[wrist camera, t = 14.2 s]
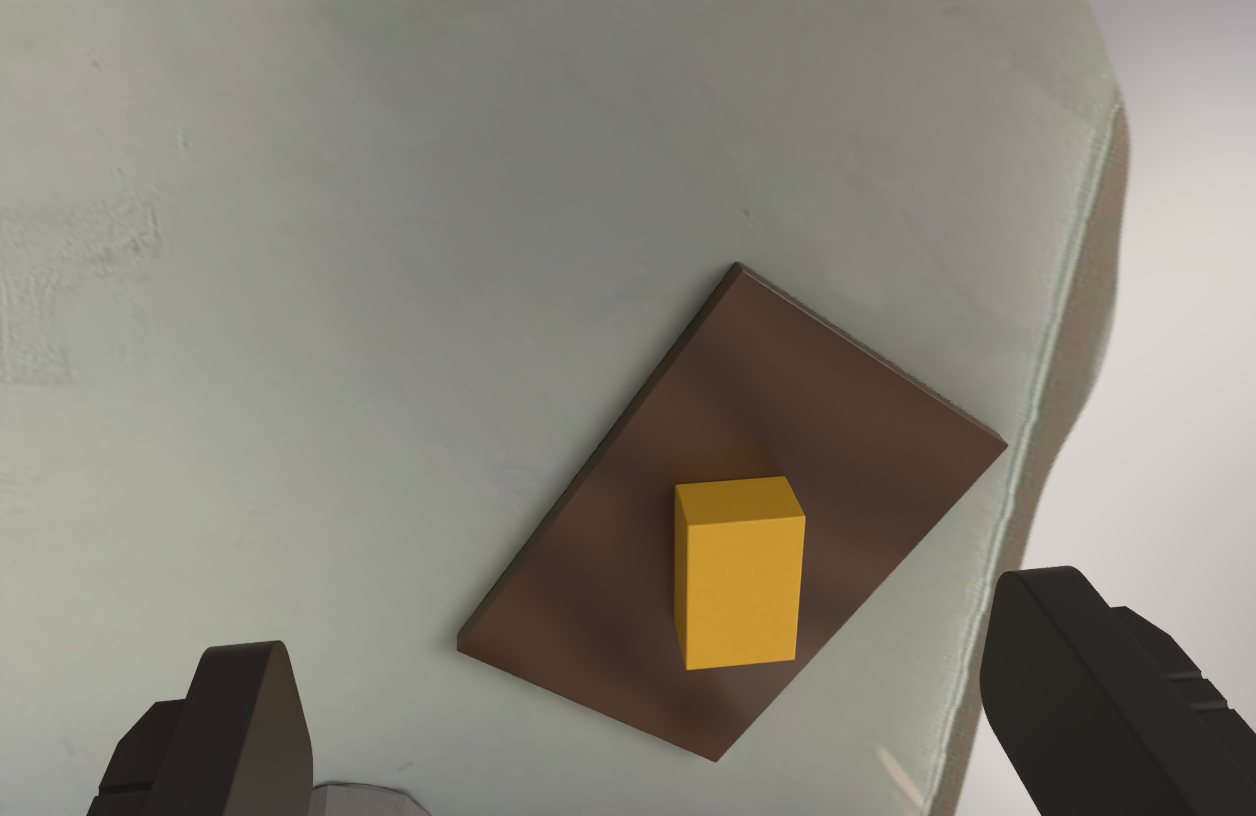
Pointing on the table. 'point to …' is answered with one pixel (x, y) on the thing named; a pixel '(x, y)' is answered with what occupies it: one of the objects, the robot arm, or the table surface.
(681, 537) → the block
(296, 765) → the robot arm
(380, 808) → the coffeepot
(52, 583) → the table surface
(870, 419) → the desk pad
